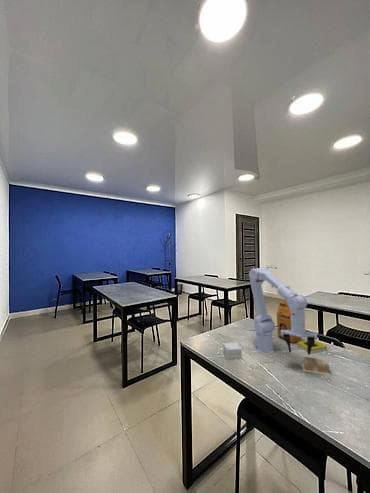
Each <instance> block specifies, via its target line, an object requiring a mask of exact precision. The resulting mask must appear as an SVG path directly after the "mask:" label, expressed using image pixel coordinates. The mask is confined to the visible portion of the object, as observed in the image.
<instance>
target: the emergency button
mask: <svg viewBox="0 0 370 493" xmlns="http://www.w3.org/2000/svg"><path fill="white" fill-rule="evenodd" d="M314 340H315V343H314V344H313V346H312V348H311V351H310V355H311V354H312V355H313V354H317V353H318V354H319V353H323V352H326V353H327V352H331V350H330V349H329V348H328V346H327V345H326V344H323V343H322V342H320V341H318V340H317V339H314ZM296 343H297V345H296V346H295V347H294V348H296V349H301V350H302V351H304V352H306V353H307V354H308V352H307V346H308V344H307V340H301V341H300V342H296Z"/></svg>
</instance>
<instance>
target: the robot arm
mask: <svg viewBox="0 0 370 493" xmlns="http://www.w3.org/2000/svg"><path fill="white" fill-rule="evenodd" d="M248 276H249V281H250V287H251V292H252V295H253V296H252V297H253V301H254V307H255V311H256V316H255V317H254V320H253V321H254V325H253V328H254V330H255V331H254V332H253V341H254V342H253V346H254V347H253V348H254V351H255V352H256V351H257V352H262V353H270V354H274V345H273V333H274V331H275V328H276V324H275V322H274V320H273V317H272V316H271V315H269V314H268V311H267V306H266V302H265V297H264V292H263V287H262V285H263V283H264V282H265V281H266V282H268V283H269V285H271V286H272V287H274V288H275V289H276V290H277V294H278V295H279V296H281V298H282V299H283V300H284V301H285V302H287V304H288V307H289V308H290V312H291V330H281V335H284V338H283V339H284V340H285V343H286V344H287V348H288V352H289V353H291V352H292V350H291V342H290V336H297V337H301V338H306V341H307V344H308V346H307V352H308V353H307V352H306V353H307V354H308V355H311V354H310V351H311V348H312V346H313V344H314V343H315V340H318V334H317V333H316V332H311V331H307V330H306V313H305V308H306V307H307V306H308V301H307V298H306V297H305V296H304V295H302V294H298V293H297V292H295V291H294V290H293V289H291V287H290V285H287V284H283V283H281V282H280V280H278V279H277V278H276V276H275V275H273V274H272V270H270V269H269V268H268V267H260V268H257V267H256V268H252V269H250V271H249V273H248Z"/></svg>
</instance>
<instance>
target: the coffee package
mask: <svg viewBox="0 0 370 493" xmlns="http://www.w3.org/2000/svg"><path fill="white" fill-rule="evenodd" d="M278 302H279V303H278V304H279V306H278V307H277V311H276V323H277V324H276V326H277V327H276V328H277V331H276V332H277V336H278V337H279V338H280V337H281V338H282V339H284V335H281V330H291V312H290V308H289V307H288V304H287V301H286V300H279V301H278ZM301 341H302V337H297V336H290V343H291V344H295V343H298V342H301Z"/></svg>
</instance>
